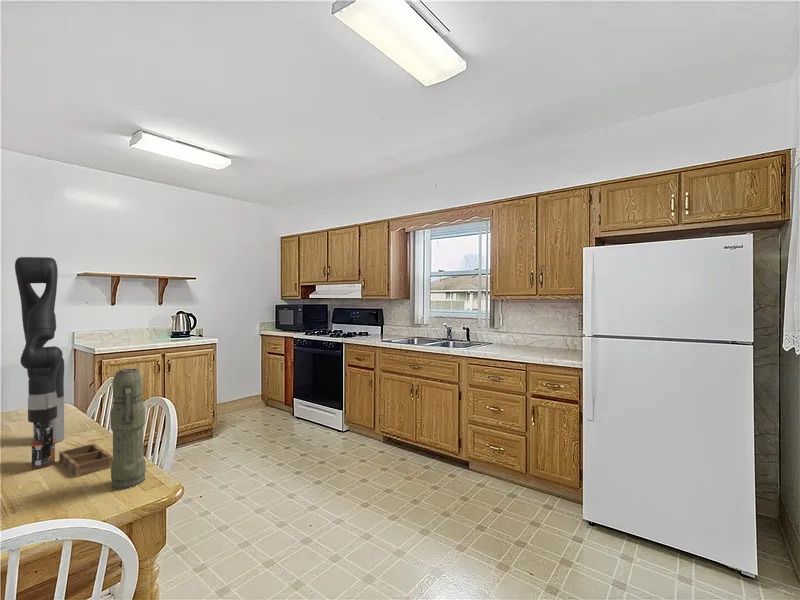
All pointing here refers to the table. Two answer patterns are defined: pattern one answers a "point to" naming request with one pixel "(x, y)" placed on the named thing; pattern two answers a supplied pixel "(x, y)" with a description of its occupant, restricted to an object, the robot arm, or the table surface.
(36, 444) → the supplement bottle
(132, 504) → the table surface
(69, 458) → the wooden divided tray
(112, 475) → the thermos
